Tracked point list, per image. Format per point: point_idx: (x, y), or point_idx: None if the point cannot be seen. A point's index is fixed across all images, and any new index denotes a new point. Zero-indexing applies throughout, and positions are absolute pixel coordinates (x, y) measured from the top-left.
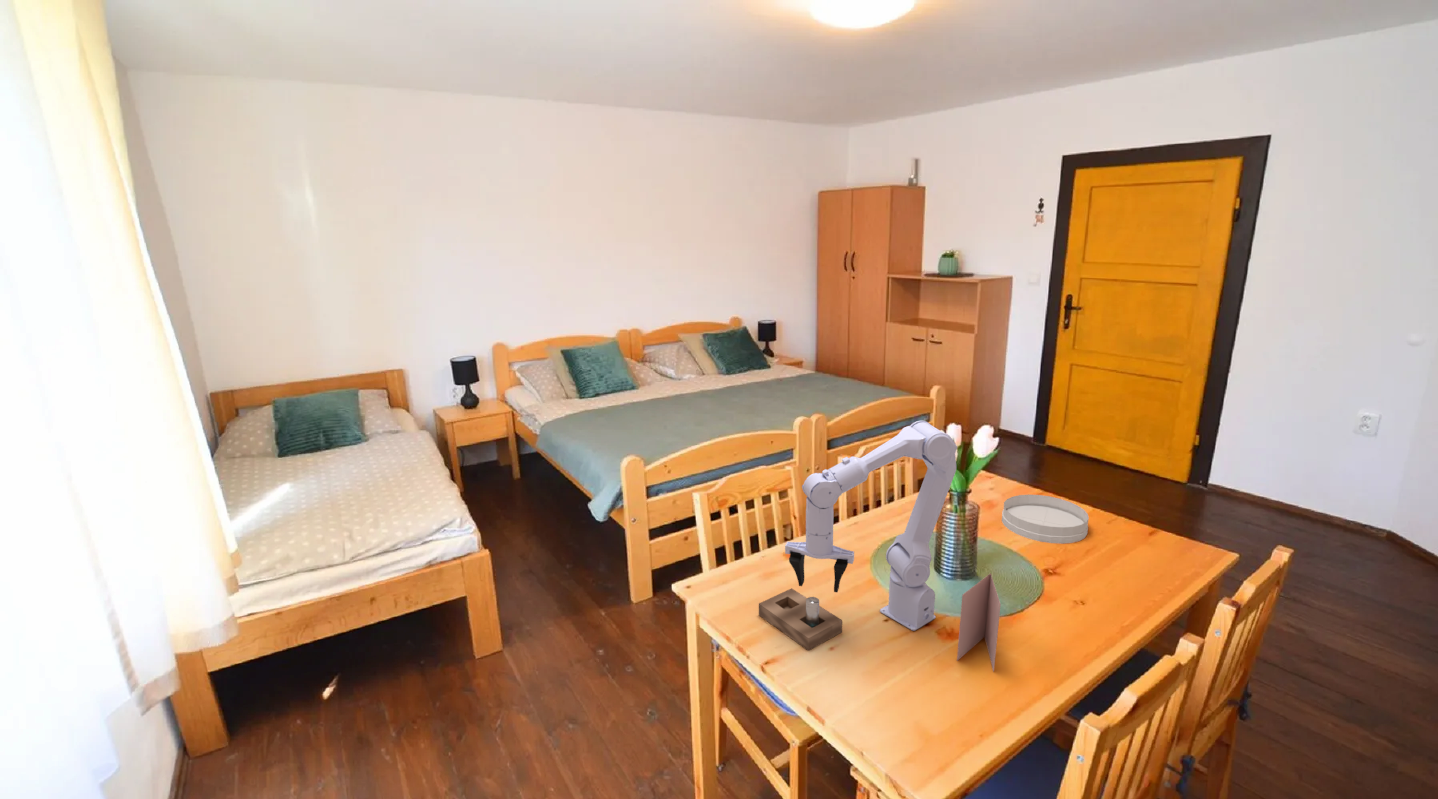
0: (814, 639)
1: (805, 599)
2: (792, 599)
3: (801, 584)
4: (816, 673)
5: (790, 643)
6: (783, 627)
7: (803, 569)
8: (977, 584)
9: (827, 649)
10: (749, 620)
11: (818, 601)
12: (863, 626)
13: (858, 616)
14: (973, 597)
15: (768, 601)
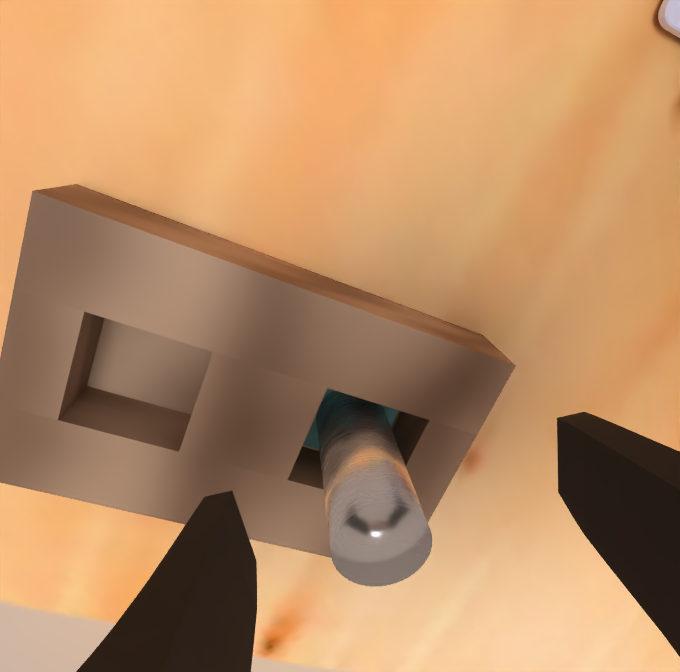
0: None
1: (215, 279)
2: (136, 327)
3: (254, 588)
4: (459, 598)
5: None
6: None
7: (198, 613)
8: None
9: (455, 474)
10: (15, 487)
11: (426, 536)
12: (576, 228)
13: (533, 144)
14: None
15: (13, 428)
